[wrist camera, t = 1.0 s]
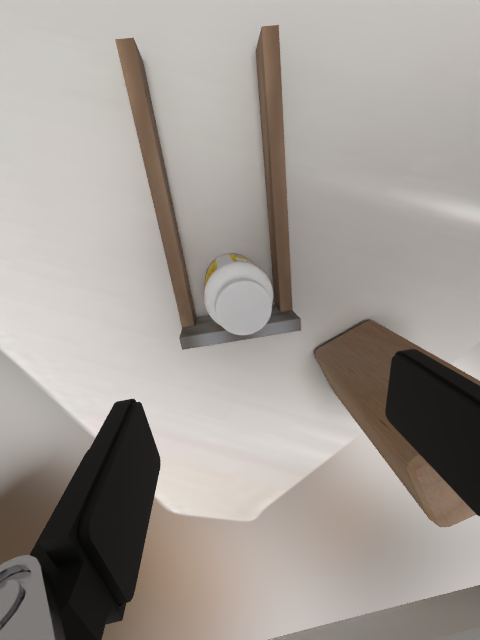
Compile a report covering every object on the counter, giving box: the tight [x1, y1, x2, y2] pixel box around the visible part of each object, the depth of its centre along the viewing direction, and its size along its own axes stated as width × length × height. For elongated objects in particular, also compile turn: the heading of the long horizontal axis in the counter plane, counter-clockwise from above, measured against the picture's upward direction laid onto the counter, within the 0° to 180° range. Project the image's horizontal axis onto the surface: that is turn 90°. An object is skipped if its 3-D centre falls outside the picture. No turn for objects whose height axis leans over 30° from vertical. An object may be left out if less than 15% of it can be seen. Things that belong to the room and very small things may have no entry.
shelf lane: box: [115, 25, 301, 350], centre depth 26 cm, size 14×28×6 cm, turn 7°
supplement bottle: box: [204, 254, 273, 335], centre depth 25 cm, size 7×7×13 cm
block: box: [315, 321, 480, 527], centre depth 28 cm, size 10×10×20 cm
